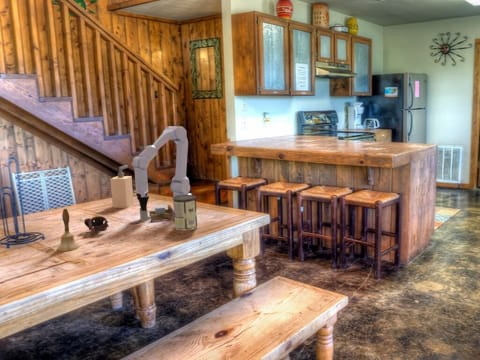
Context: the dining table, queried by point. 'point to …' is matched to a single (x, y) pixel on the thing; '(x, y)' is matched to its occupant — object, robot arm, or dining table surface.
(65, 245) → the hand bell
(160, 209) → the tethered block
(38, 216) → the dining table surface
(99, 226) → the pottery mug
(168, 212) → the walnut lane
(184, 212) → the coffee can
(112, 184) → the soap dispenser
